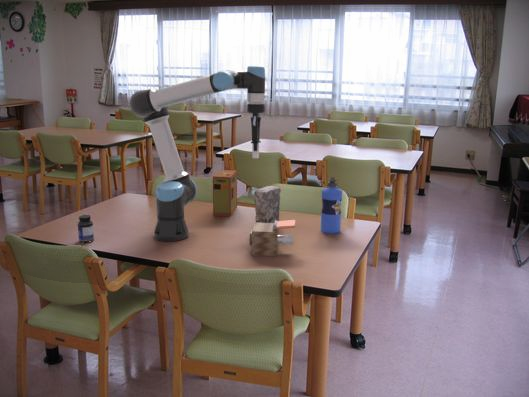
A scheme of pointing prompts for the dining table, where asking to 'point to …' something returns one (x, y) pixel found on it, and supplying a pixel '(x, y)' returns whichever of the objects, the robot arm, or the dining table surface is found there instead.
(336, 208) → the water bottle
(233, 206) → the box
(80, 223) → the pill bottle
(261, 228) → the block
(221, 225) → the dining table surface
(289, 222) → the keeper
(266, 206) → the stone block
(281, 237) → the pin
